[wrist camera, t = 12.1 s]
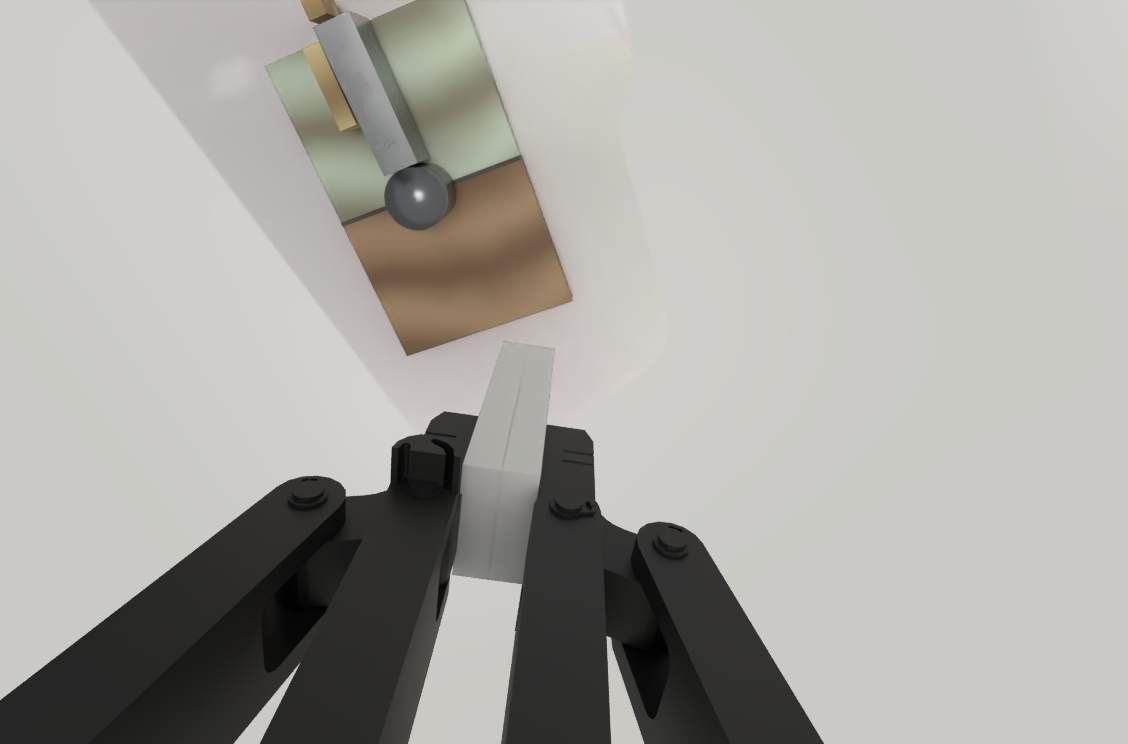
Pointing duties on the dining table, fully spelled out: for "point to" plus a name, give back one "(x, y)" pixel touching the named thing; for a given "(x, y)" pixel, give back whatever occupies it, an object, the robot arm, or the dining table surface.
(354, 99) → the bar
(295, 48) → the dining table surface
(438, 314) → the door board
